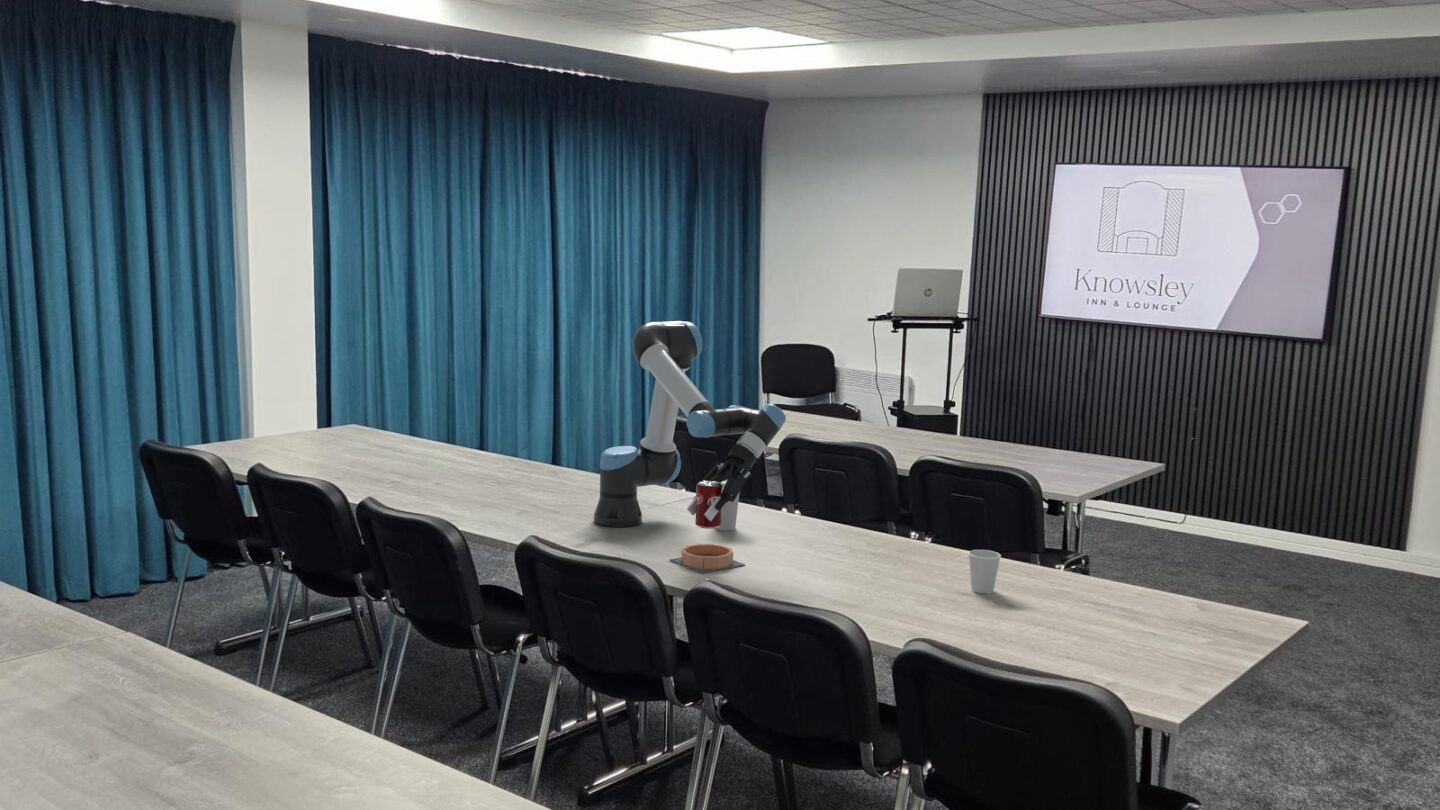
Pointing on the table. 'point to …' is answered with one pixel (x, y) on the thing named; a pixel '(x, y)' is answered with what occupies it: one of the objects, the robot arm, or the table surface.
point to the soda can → (707, 503)
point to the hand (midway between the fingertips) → (698, 514)
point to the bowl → (707, 558)
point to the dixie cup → (983, 570)
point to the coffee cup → (729, 513)
